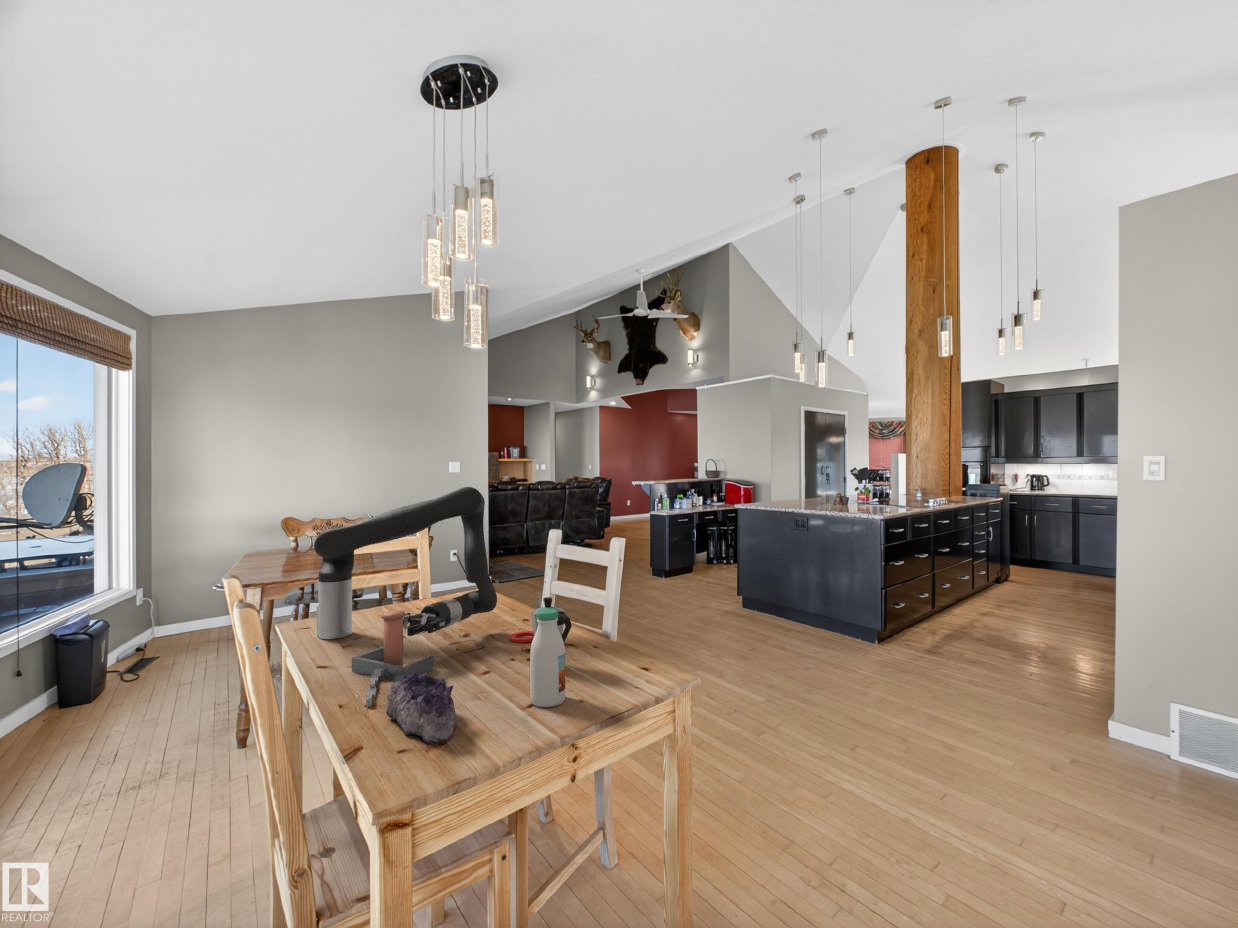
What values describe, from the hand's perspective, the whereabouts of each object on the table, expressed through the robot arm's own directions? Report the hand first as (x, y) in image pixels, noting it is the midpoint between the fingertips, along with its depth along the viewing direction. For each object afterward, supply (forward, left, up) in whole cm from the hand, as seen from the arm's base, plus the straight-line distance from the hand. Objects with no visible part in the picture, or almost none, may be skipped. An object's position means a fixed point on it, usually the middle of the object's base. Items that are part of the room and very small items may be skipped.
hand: (396, 630), depth 141 cm
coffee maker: (+36, +17, -10) cm, 41 cm away
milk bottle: (+46, 0, -10) cm, 47 cm away
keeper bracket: (0, -1, -10) cm, 10 cm away
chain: (+6, -13, -10) cm, 18 cm away
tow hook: (+16, +35, -10) cm, 40 cm away
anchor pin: (0, -1, -10) cm, 10 cm away
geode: (+29, -19, -10) cm, 37 cm away
